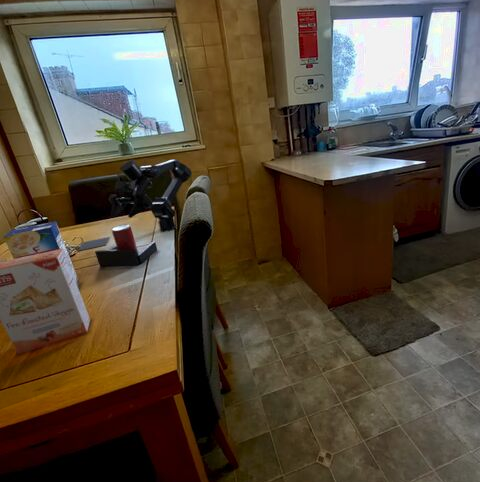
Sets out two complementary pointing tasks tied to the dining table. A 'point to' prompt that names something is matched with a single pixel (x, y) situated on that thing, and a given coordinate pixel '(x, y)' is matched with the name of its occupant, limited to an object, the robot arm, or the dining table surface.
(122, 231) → the can
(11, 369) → the dining table surface
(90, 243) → the mat
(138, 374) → the dining table surface
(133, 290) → the dining table surface
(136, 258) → the compartment
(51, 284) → the cracker box
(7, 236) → the blue white cardboard box
